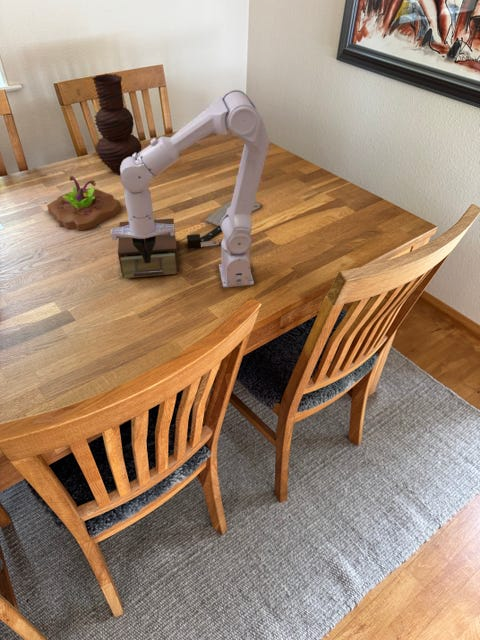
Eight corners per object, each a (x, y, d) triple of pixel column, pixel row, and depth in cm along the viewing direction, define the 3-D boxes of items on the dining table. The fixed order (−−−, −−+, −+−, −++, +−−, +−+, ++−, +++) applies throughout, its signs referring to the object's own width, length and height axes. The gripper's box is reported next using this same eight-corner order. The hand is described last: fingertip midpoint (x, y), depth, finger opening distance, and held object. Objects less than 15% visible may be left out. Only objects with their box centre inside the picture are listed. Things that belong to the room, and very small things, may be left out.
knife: (188, 249, 129) (187, 240, 127) (187, 243, 131) (186, 235, 128) (219, 246, 130) (219, 237, 128) (218, 240, 132) (218, 232, 129)
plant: (90, 189, 154) (83, 156, 146) (129, 209, 145) (123, 175, 137) (38, 213, 142) (26, 179, 135) (76, 236, 134) (67, 201, 126)
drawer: (178, 288, 116) (176, 269, 112) (123, 293, 114) (119, 274, 110) (174, 244, 130) (172, 226, 126) (125, 248, 128) (122, 230, 124)
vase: (92, 175, 161) (71, 82, 141) (113, 157, 172) (97, 68, 151) (132, 181, 158) (117, 88, 137) (151, 162, 169) (140, 73, 148)
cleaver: (177, 234, 135) (203, 246, 130) (177, 232, 134) (203, 244, 130) (238, 196, 152) (263, 205, 147) (238, 194, 151) (263, 204, 147)
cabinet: (179, 272, 122) (176, 248, 117) (122, 277, 120) (117, 253, 115) (175, 241, 132) (173, 218, 127) (124, 245, 130) (119, 222, 125)
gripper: (171, 200, 108) (176, 249, 117) (108, 205, 106) (118, 253, 115) (173, 216, 103) (177, 265, 112) (106, 221, 101) (117, 270, 110)
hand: (147, 260), depth 113 cm, fingers closed
